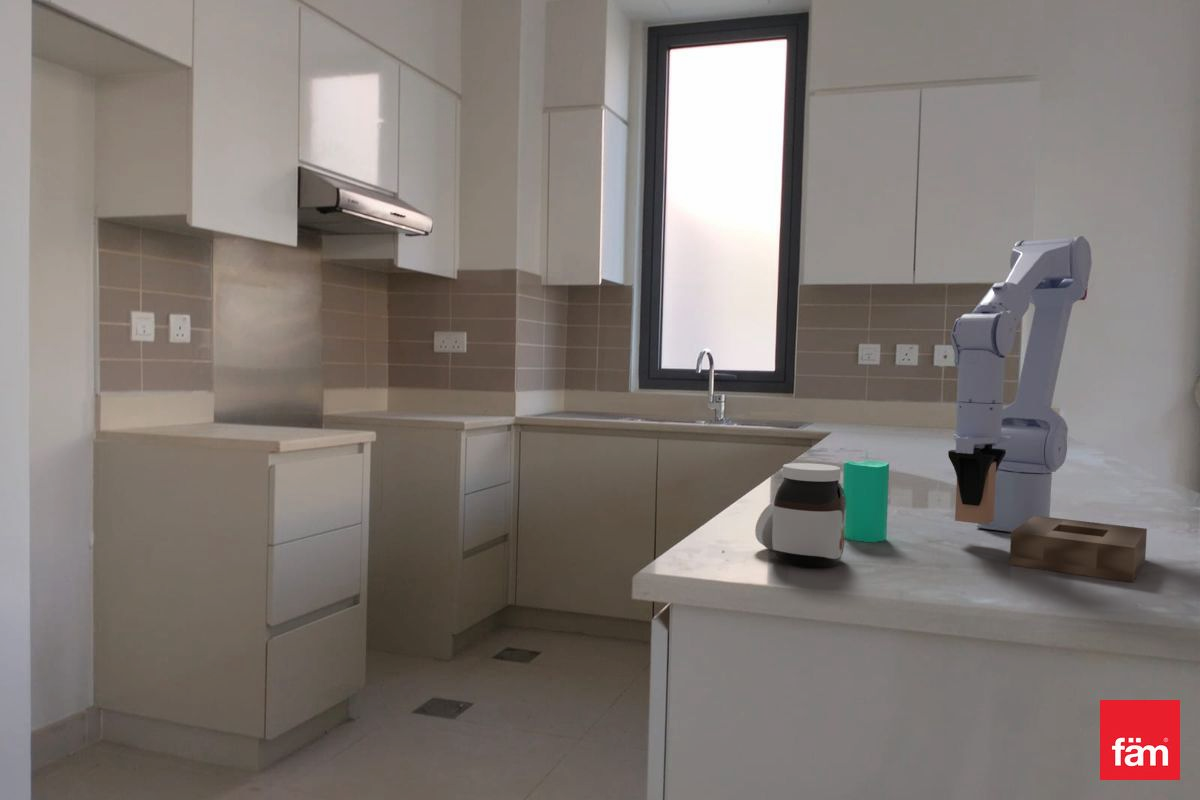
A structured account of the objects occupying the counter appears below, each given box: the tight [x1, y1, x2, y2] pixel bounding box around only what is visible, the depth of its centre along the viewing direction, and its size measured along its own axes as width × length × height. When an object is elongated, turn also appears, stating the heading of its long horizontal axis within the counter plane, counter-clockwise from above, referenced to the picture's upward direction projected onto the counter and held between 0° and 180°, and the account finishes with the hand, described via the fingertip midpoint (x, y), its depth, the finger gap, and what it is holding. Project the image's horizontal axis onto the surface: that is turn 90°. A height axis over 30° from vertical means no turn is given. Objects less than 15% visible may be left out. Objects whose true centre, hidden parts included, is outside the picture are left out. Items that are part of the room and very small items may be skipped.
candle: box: [842, 451, 890, 543], centre depth 122 cm, size 6×6×12 cm
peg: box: [954, 462, 996, 525], centre depth 119 cm, size 4×4×8 cm
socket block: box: [1009, 516, 1148, 583], centre depth 110 cm, size 13×15×4 cm
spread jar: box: [754, 462, 846, 569], centre depth 109 cm, size 12×11×12 cm
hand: (975, 502), depth 119 cm, fingers closed on peg, 4 cm apart
